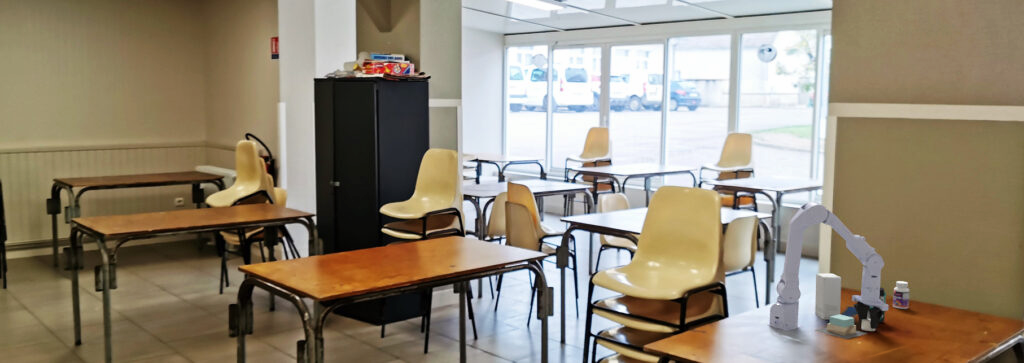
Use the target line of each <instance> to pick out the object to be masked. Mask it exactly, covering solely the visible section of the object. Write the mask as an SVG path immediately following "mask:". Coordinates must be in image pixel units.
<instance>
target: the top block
mask: <svg viewBox="0 0 1024 363" xmlns="http://www.w3.org/2000/svg"><path fill="white" fill-rule="evenodd" d="M829 324H832V325H836V326H840V327H843V328H845V327H849V326H853V325H855V317H852V316H847V315H843V314H841V313H840V314H839V315H835V316H830V319H829Z"/></svg>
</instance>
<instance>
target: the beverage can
mask: <svg viewBox="0 0 1024 363" xmlns="http://www.w3.org/2000/svg"><path fill="white" fill-rule="evenodd" d="M886 295H887V293H886V292H885V288H884V287H881V286H880V296H879V299H880V300H881V302H883V303H885V304H886V299H887V296H886ZM870 308H873V307H872V306H870ZM885 315H886V312H885V313H884V314H883V315H882V317H881V319H880V321H879V324H882V323H883V322H885ZM867 319H870V313H869V311H868V315H867Z"/></svg>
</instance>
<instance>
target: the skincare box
mask: <svg viewBox="0 0 1024 363" xmlns="http://www.w3.org/2000/svg"><path fill="white" fill-rule="evenodd" d="M841 293H842V277H841V276H839V275H836V274H834V273H825V272H824V273H815V307H814V310H815V312H814V314H815V315H816V316H817V317H819V318H820V319H822V320H830V316H835V315H839V314H840V315H841V298H842V296H841V295H842V294H841Z"/></svg>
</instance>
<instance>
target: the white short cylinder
mask: <svg viewBox="0 0 1024 363" xmlns="http://www.w3.org/2000/svg"><path fill="white" fill-rule="evenodd" d="M860 326H861V328H860V329H861V330H862V331H867V332H875V331H876V329H871V326H870V319H862V324H861V325H860Z"/></svg>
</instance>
